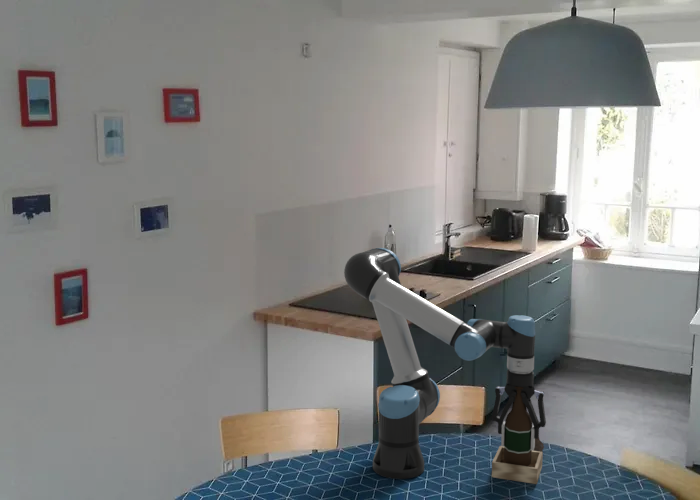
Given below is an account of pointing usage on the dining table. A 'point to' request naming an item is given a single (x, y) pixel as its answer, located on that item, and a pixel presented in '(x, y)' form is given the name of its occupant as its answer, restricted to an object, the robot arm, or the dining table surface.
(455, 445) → the dining table surface
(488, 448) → the dining table surface
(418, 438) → the robot arm
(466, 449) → the dining table surface
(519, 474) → the caddy
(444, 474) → the dining table surface
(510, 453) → the beer bottle
